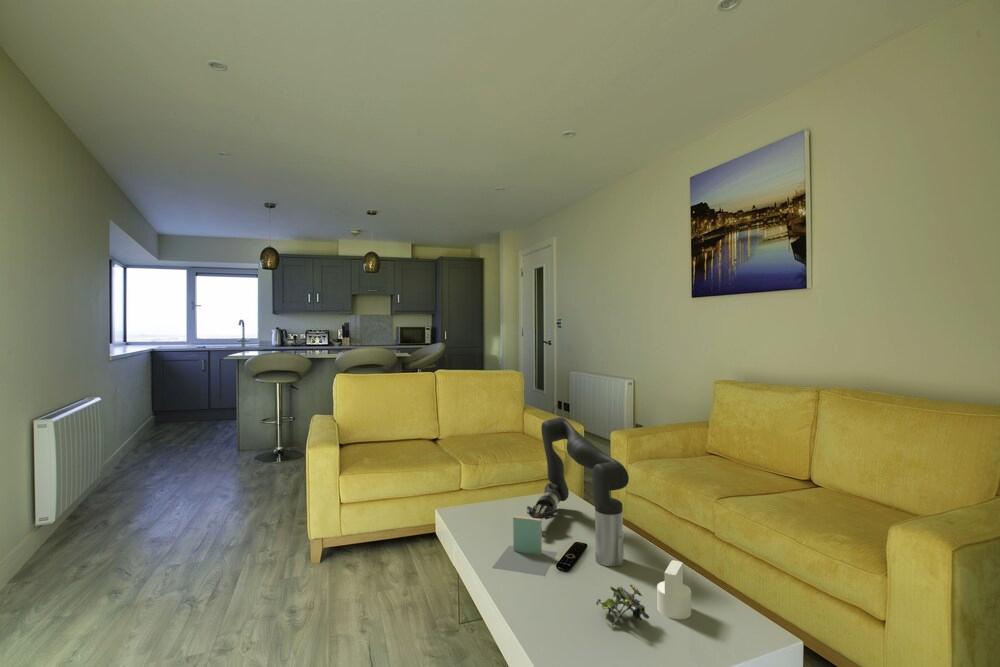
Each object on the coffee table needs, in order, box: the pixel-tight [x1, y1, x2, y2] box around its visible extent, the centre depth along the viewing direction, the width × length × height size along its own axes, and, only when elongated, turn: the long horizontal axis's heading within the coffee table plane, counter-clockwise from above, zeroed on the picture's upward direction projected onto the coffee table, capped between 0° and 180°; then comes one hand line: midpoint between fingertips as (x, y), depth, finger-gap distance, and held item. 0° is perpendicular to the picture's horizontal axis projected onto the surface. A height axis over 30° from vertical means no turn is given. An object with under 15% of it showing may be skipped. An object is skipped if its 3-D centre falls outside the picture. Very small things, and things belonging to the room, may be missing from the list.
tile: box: [512, 515, 543, 555], centre depth 178 cm, size 10×2×12 cm, turn 71°
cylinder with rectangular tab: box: [656, 559, 692, 620], centre depth 141 cm, size 9×9×12 cm
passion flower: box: [596, 584, 650, 626], centre depth 136 cm, size 11×11×12 cm
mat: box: [491, 545, 558, 577], centre depth 172 cm, size 18×18×1 cm
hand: (536, 519), depth 189 cm, fingers closed
